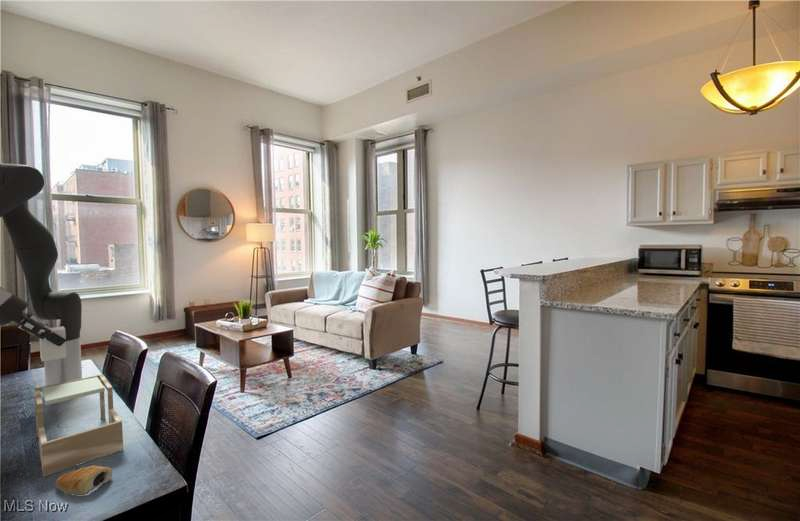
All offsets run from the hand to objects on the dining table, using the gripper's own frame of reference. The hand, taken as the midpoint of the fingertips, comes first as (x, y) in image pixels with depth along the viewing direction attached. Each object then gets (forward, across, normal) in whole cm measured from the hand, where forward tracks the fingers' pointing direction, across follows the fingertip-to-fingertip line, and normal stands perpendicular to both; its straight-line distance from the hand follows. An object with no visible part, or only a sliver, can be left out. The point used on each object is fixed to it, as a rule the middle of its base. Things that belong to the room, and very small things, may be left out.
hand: (61, 341), depth 104 cm
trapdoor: (+8, -15, +7) cm, 19 cm away
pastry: (+15, -43, +16) cm, 49 cm away
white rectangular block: (+2, 0, +4) cm, 5 cm away
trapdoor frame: (+16, -21, +15) cm, 30 cm away
